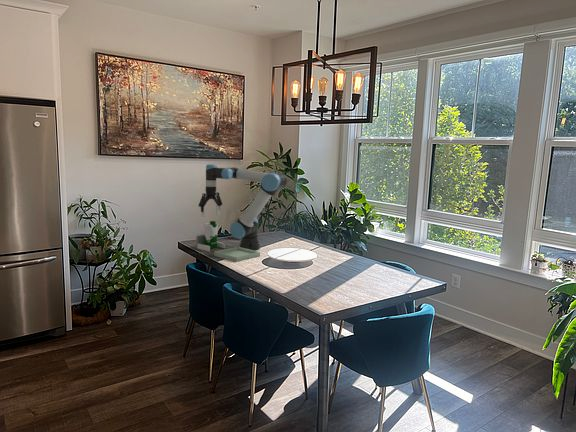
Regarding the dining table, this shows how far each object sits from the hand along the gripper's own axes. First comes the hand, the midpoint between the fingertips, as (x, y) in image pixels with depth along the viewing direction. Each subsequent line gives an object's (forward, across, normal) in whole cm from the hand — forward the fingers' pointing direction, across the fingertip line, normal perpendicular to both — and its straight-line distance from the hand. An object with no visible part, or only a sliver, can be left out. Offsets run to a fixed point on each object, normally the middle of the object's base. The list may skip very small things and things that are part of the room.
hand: (210, 215), depth 303 cm
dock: (+24, 0, +1) cm, 24 cm away
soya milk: (+24, 0, 0) cm, 24 cm away
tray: (+24, +2, +30) cm, 39 cm away
